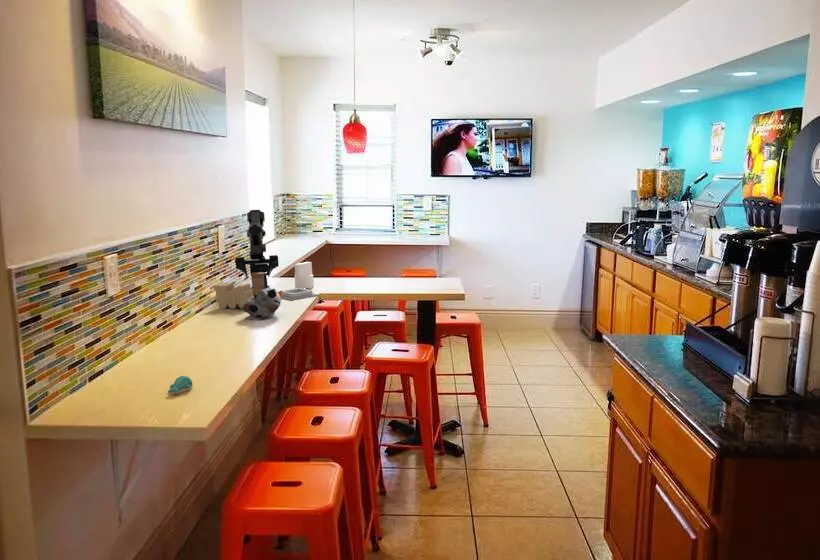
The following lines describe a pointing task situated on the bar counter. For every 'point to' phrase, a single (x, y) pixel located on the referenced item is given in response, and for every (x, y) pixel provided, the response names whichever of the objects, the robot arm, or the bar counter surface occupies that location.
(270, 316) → the lucky cat figurine
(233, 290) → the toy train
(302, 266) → the cylinder with rectangular tab
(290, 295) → the bay tray
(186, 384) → the whale figurine
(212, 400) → the bar counter surface
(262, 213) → the robot arm
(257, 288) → the tapered wooden block
